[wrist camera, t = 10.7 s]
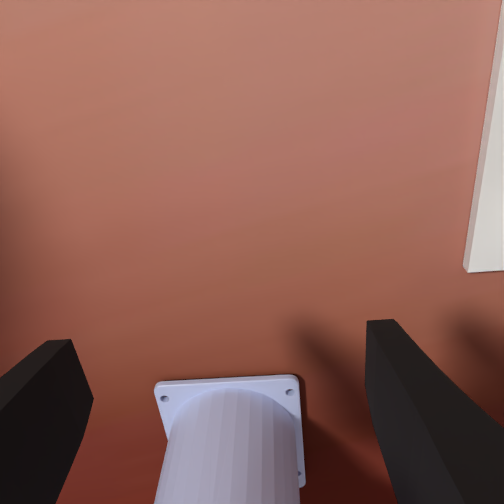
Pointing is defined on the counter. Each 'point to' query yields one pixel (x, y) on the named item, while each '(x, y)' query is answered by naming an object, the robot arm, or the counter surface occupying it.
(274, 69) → the counter surface
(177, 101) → the counter surface
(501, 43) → the display stand
